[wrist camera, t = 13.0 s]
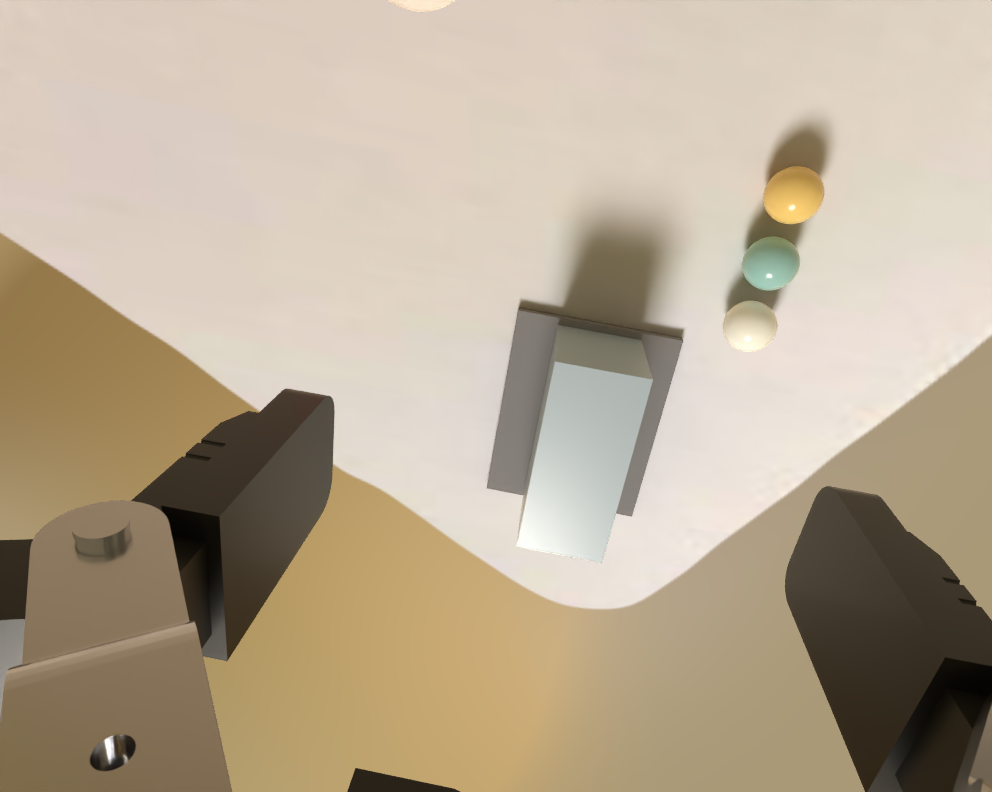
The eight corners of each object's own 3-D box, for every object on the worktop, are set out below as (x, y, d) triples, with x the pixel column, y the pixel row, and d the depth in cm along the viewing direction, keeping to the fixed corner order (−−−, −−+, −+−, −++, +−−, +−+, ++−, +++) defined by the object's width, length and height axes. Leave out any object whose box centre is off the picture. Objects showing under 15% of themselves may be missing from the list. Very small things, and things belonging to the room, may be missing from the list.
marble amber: (767, 160, 38) (783, 163, 35) (821, 169, 38) (841, 173, 35) (750, 214, 40) (764, 222, 37) (802, 223, 40) (820, 233, 37)
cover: (557, 324, 43) (554, 361, 37) (641, 340, 43) (653, 379, 37) (524, 489, 48) (516, 546, 42) (598, 503, 48) (602, 563, 42)
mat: (518, 308, 44) (518, 310, 43) (681, 337, 43) (683, 340, 43) (487, 483, 49) (486, 488, 49) (631, 511, 49) (631, 516, 48)
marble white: (726, 290, 42) (737, 304, 39) (776, 299, 42) (791, 313, 39) (711, 337, 43) (721, 353, 40) (760, 346, 43) (773, 363, 40)
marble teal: (746, 228, 40) (759, 237, 37) (797, 237, 40) (815, 246, 37) (730, 278, 41) (742, 291, 38) (780, 287, 41) (796, 300, 38)
